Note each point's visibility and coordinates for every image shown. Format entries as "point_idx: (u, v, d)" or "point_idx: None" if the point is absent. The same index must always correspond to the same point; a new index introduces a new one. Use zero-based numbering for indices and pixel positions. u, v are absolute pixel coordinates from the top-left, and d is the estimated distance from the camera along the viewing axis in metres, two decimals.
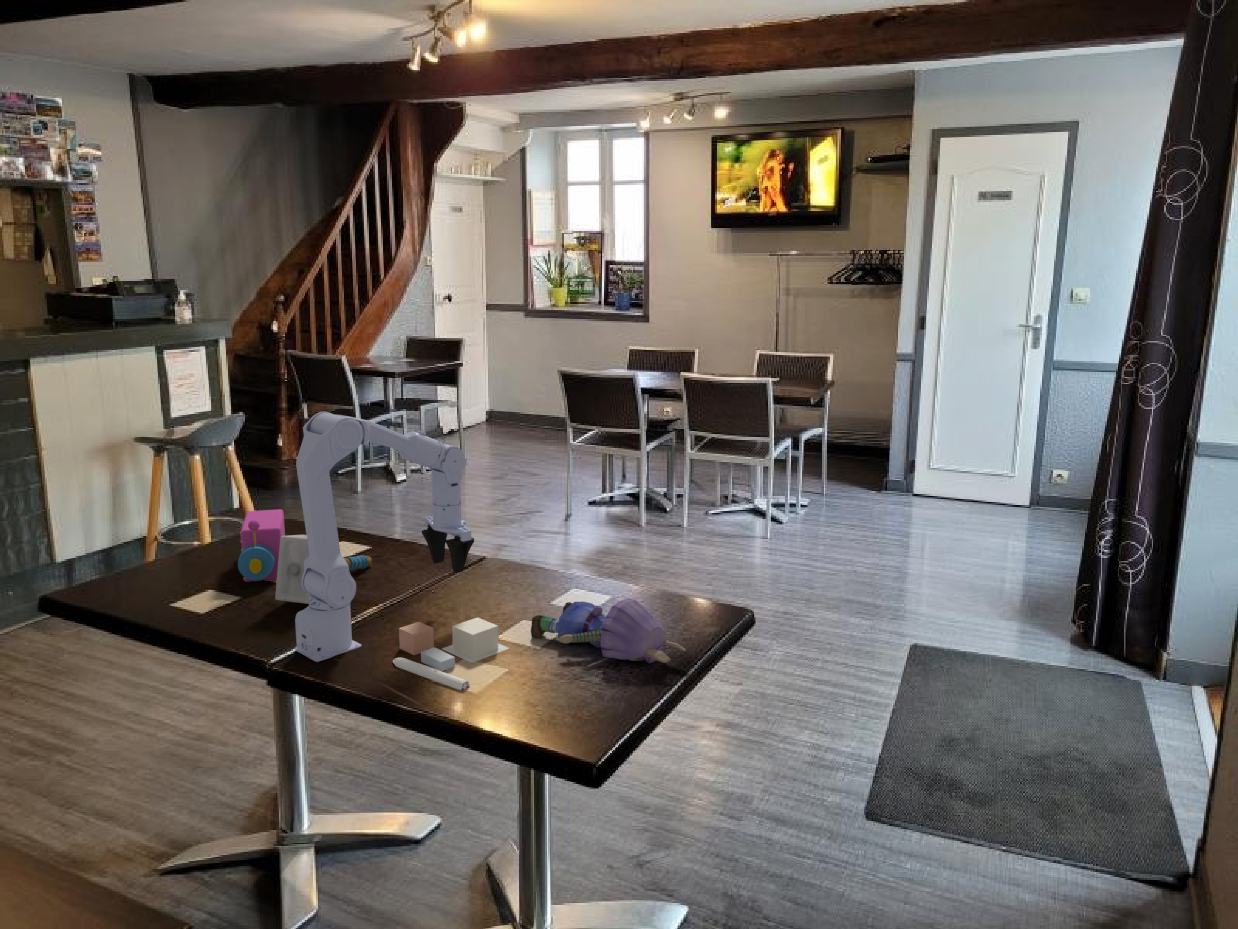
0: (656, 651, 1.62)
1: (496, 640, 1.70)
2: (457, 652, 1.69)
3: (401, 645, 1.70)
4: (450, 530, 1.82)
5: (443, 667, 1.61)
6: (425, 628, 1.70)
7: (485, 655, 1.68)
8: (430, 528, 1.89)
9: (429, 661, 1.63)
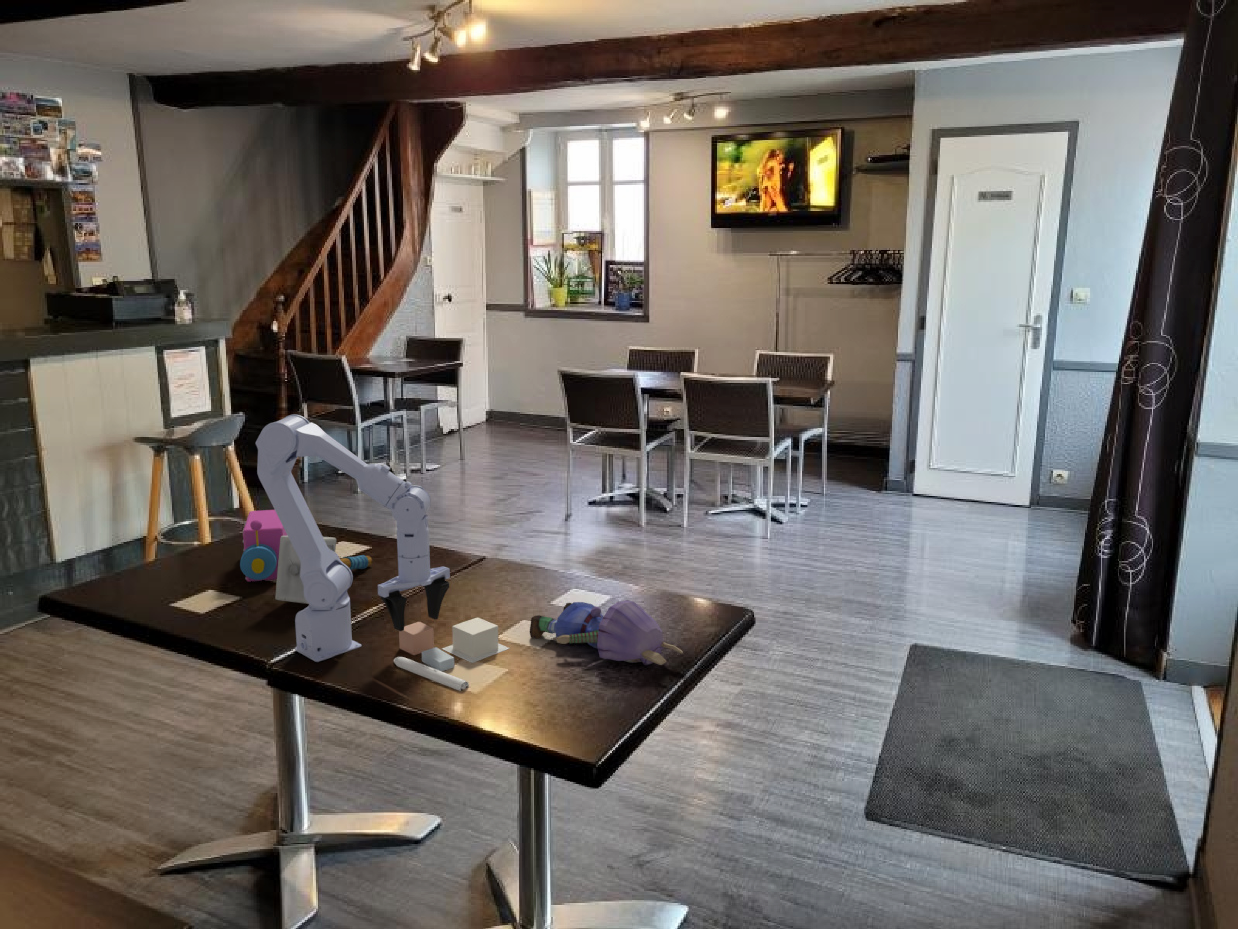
0: (652, 653, 1.62)
1: (496, 640, 1.70)
2: (457, 652, 1.69)
3: (401, 645, 1.70)
4: None
5: (442, 667, 1.61)
6: (425, 628, 1.70)
7: (485, 655, 1.68)
8: None
9: (429, 660, 1.63)
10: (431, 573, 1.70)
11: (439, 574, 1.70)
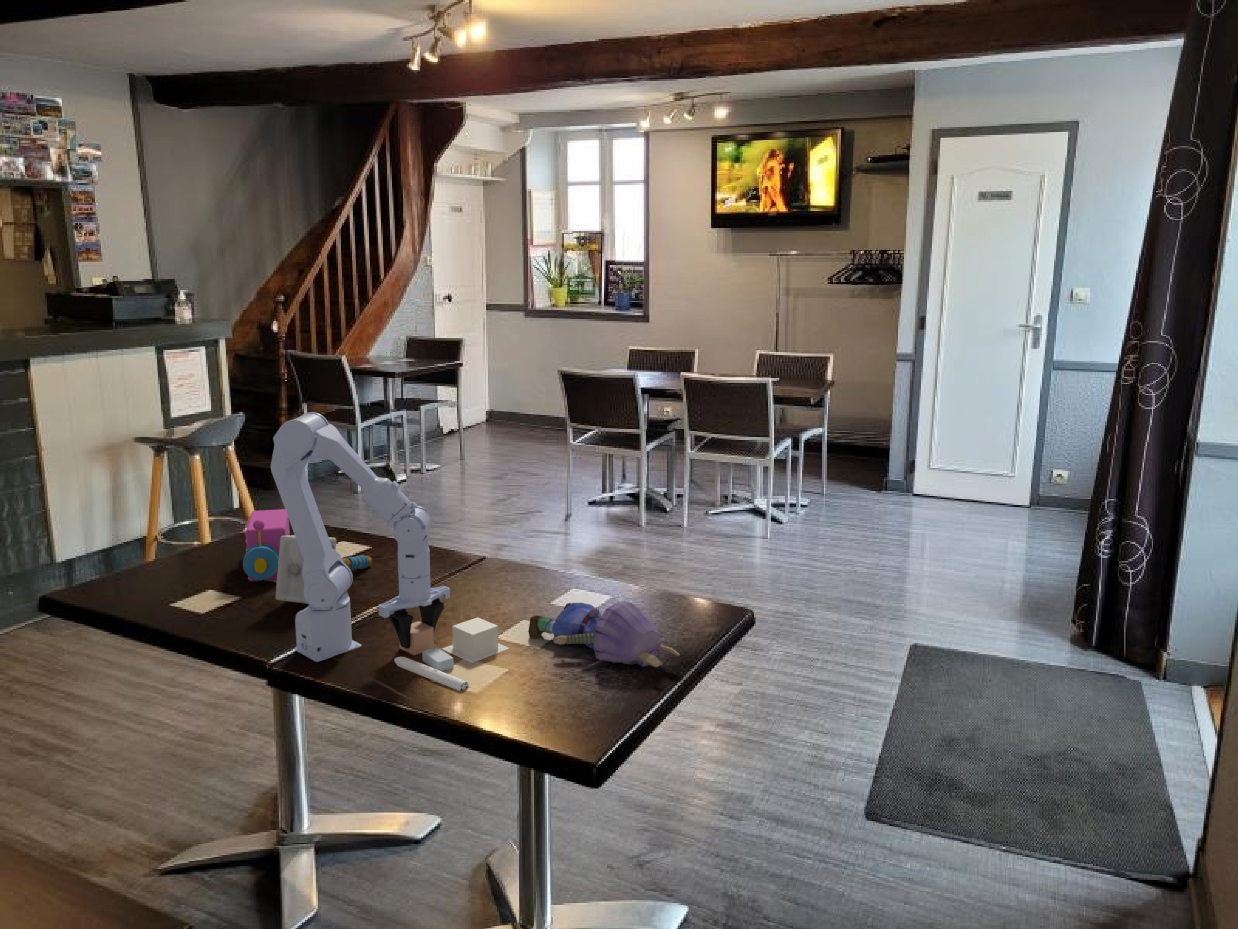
0: (648, 655, 1.61)
1: (496, 640, 1.70)
2: (457, 652, 1.69)
3: None
4: None
5: (441, 667, 1.61)
6: (424, 627, 1.70)
7: (485, 655, 1.68)
8: None
9: (429, 660, 1.63)
10: (431, 593, 1.71)
11: (439, 594, 1.71)
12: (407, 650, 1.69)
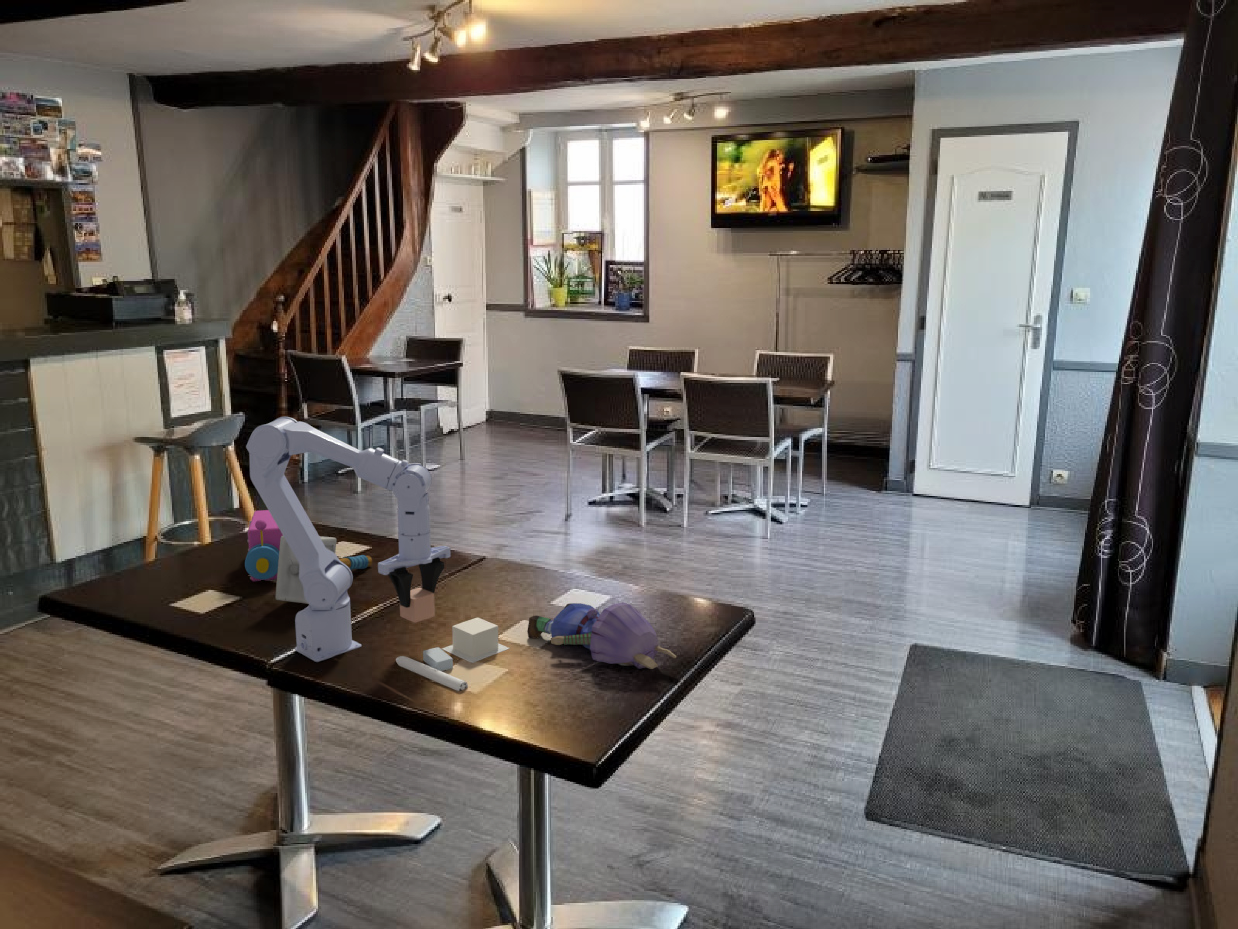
0: (644, 657, 1.60)
1: (496, 640, 1.70)
2: (457, 652, 1.69)
3: (401, 610, 1.68)
4: None
5: (440, 667, 1.61)
6: (425, 593, 1.68)
7: (485, 655, 1.68)
8: None
9: (428, 660, 1.63)
10: (432, 552, 1.69)
11: (439, 553, 1.69)
12: (408, 616, 1.67)
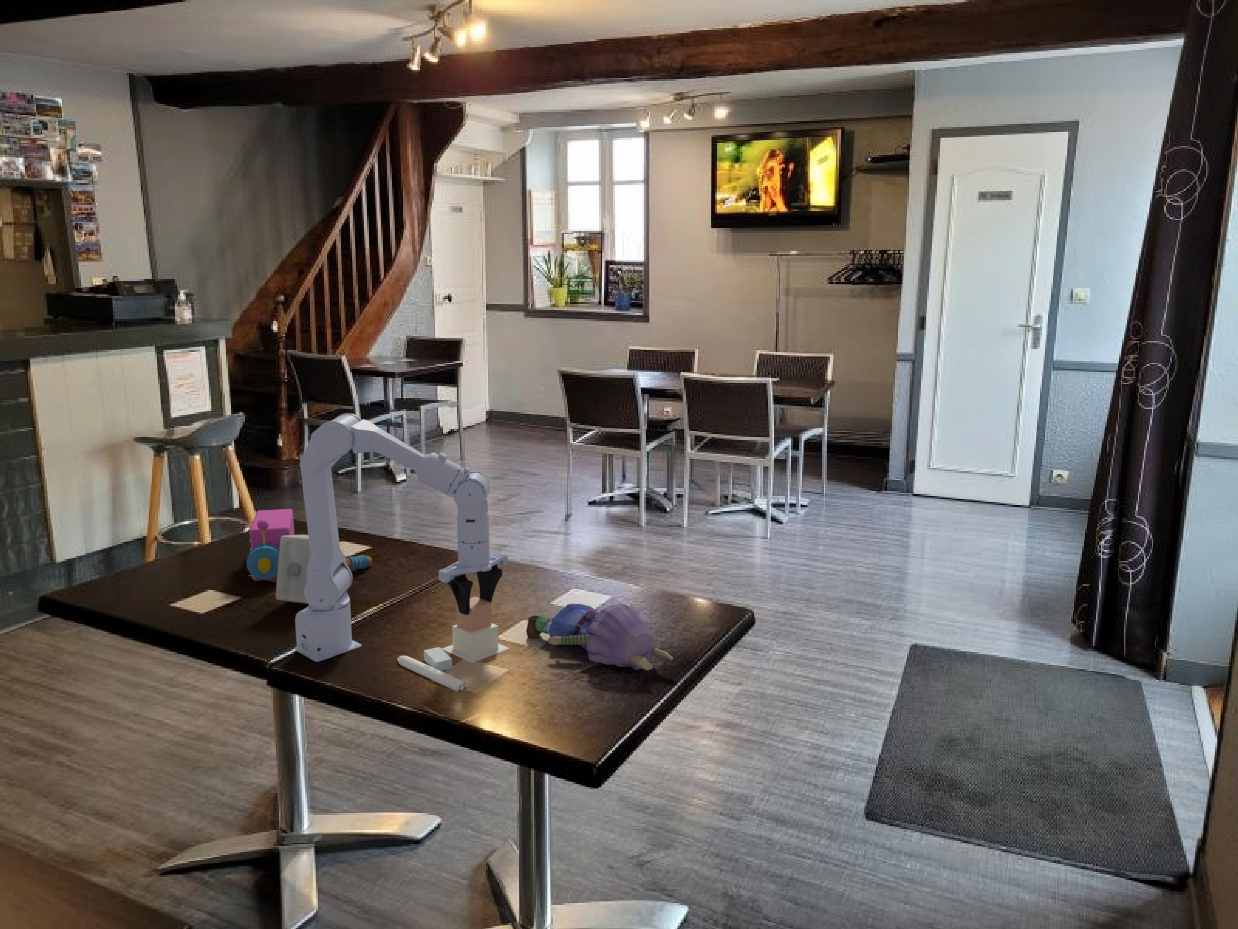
0: (640, 658, 1.59)
1: (496, 640, 1.70)
2: (457, 652, 1.69)
3: (459, 620, 1.69)
4: None
5: (439, 667, 1.61)
6: (482, 602, 1.69)
7: (485, 655, 1.68)
8: None
9: (428, 660, 1.64)
10: (490, 559, 1.70)
11: (497, 560, 1.69)
12: (465, 625, 1.68)
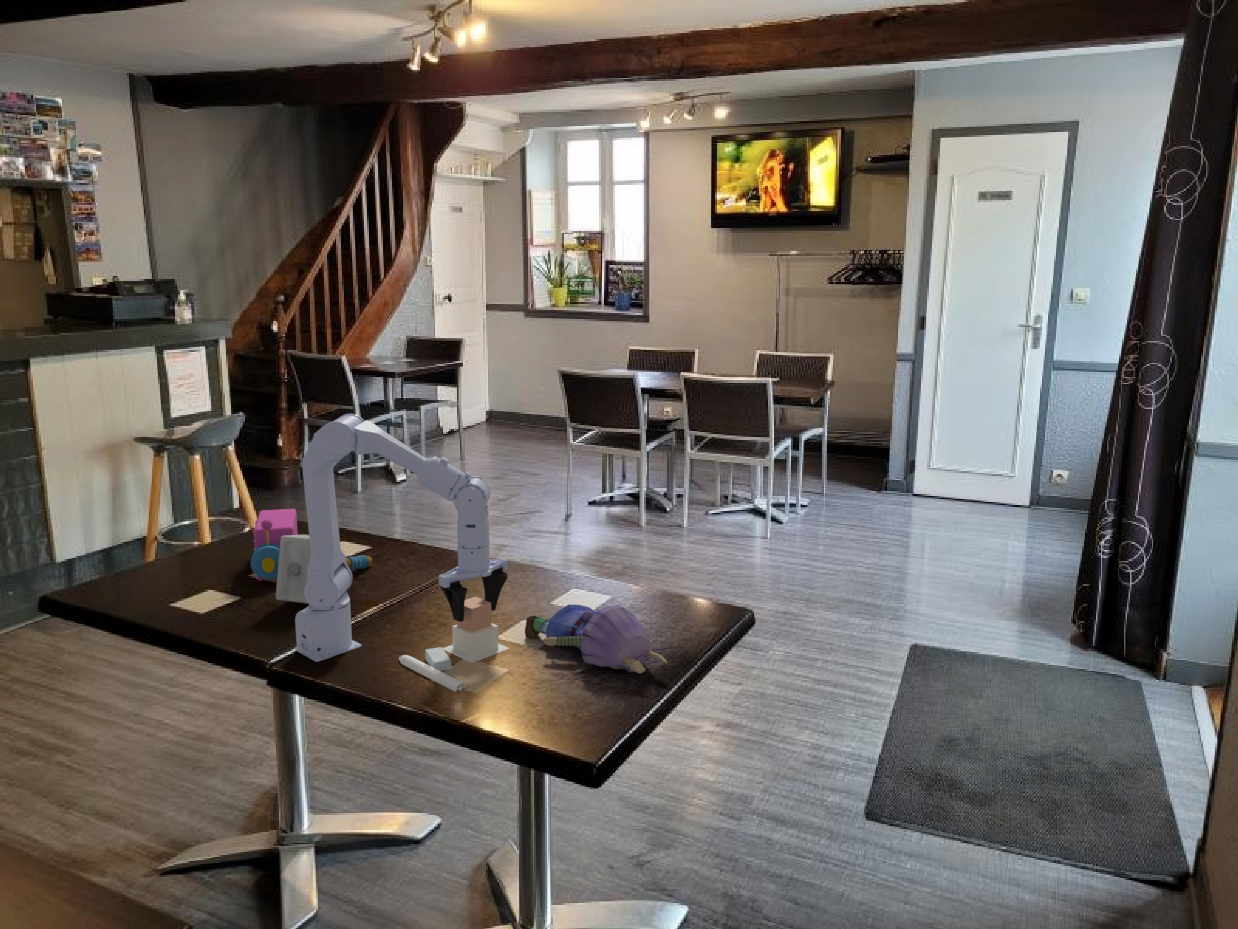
0: (633, 661, 1.58)
1: (496, 640, 1.70)
2: (457, 652, 1.69)
3: None
4: None
5: (437, 668, 1.61)
6: (482, 602, 1.69)
7: (485, 655, 1.68)
8: None
9: (428, 659, 1.64)
10: (490, 564, 1.70)
11: (497, 565, 1.70)
12: (465, 625, 1.68)
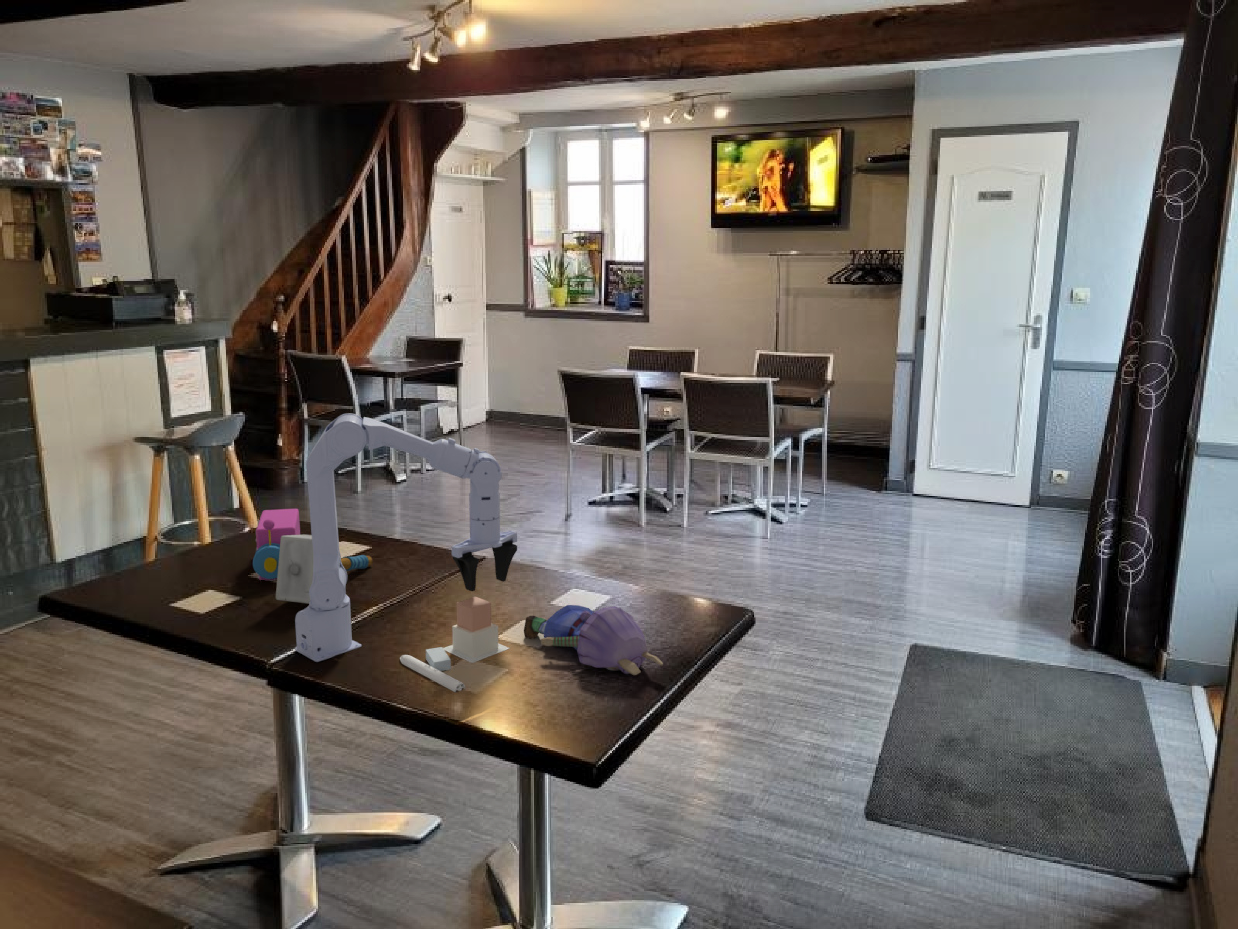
0: (629, 662, 1.58)
1: (496, 640, 1.70)
2: (457, 652, 1.69)
3: (459, 620, 1.69)
4: None
5: (437, 667, 1.61)
6: (482, 602, 1.69)
7: (485, 655, 1.68)
8: None
9: (429, 659, 1.64)
10: (500, 536, 1.76)
11: (507, 537, 1.76)
12: (465, 625, 1.68)
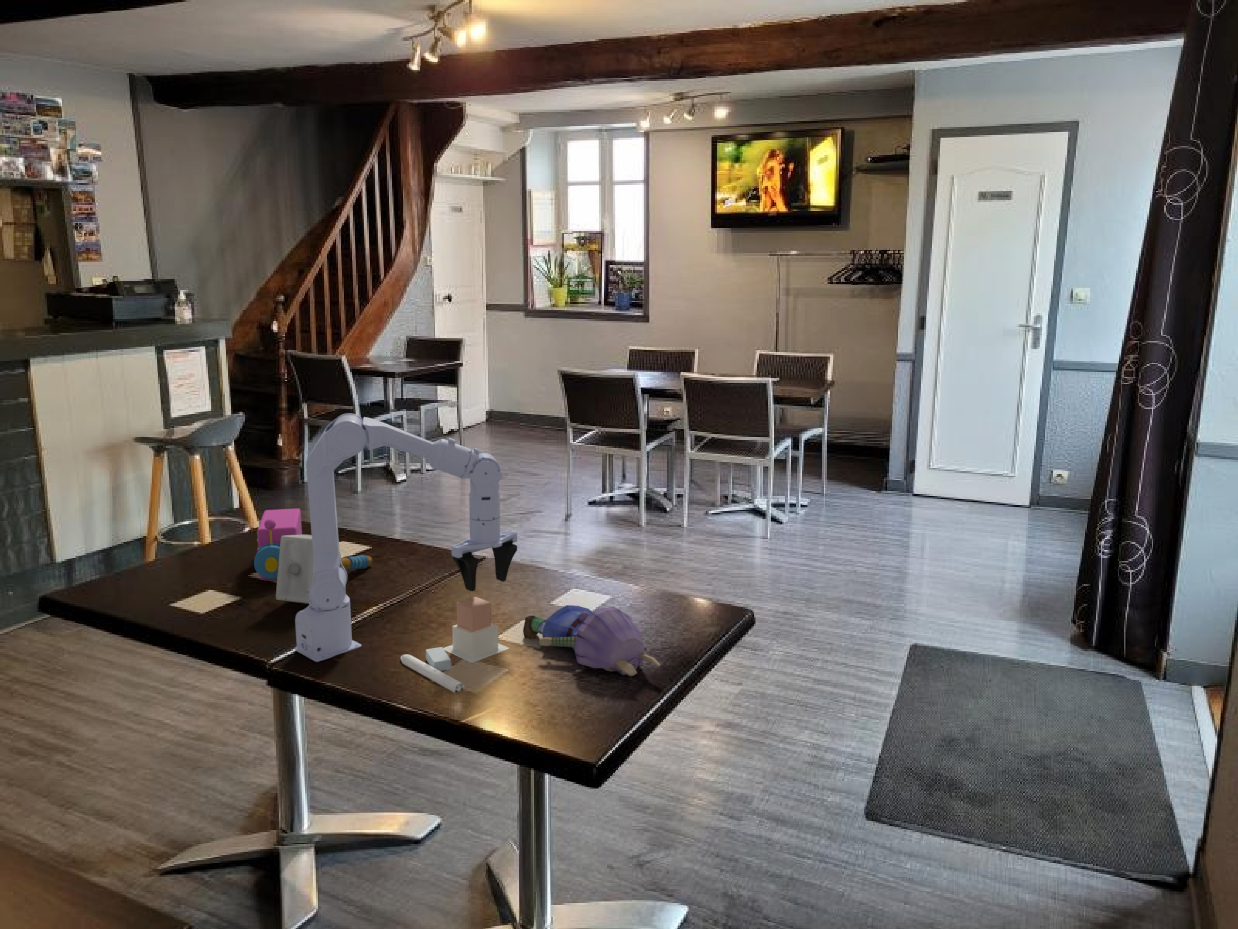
0: (625, 663, 1.57)
1: (496, 640, 1.70)
2: (457, 652, 1.69)
3: (459, 620, 1.69)
4: None
5: (437, 667, 1.61)
6: (482, 602, 1.69)
7: (485, 655, 1.68)
8: None
9: (429, 659, 1.64)
10: (500, 536, 1.76)
11: (507, 537, 1.76)
12: (465, 625, 1.68)
